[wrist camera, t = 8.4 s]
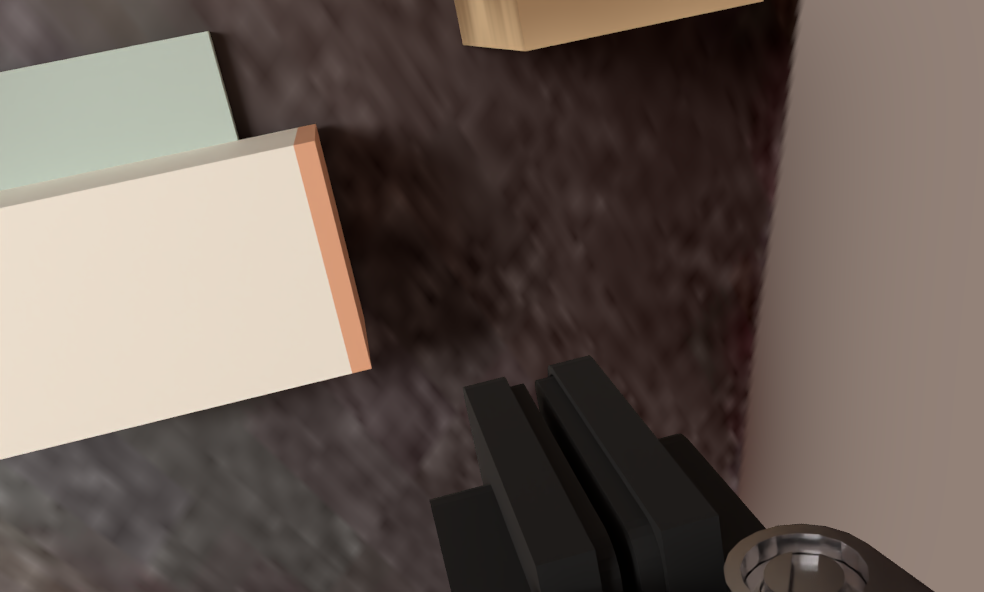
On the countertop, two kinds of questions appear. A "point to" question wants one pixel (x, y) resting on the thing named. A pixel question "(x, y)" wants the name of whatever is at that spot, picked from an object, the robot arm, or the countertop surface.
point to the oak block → (568, 19)
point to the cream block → (172, 289)
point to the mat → (111, 109)
